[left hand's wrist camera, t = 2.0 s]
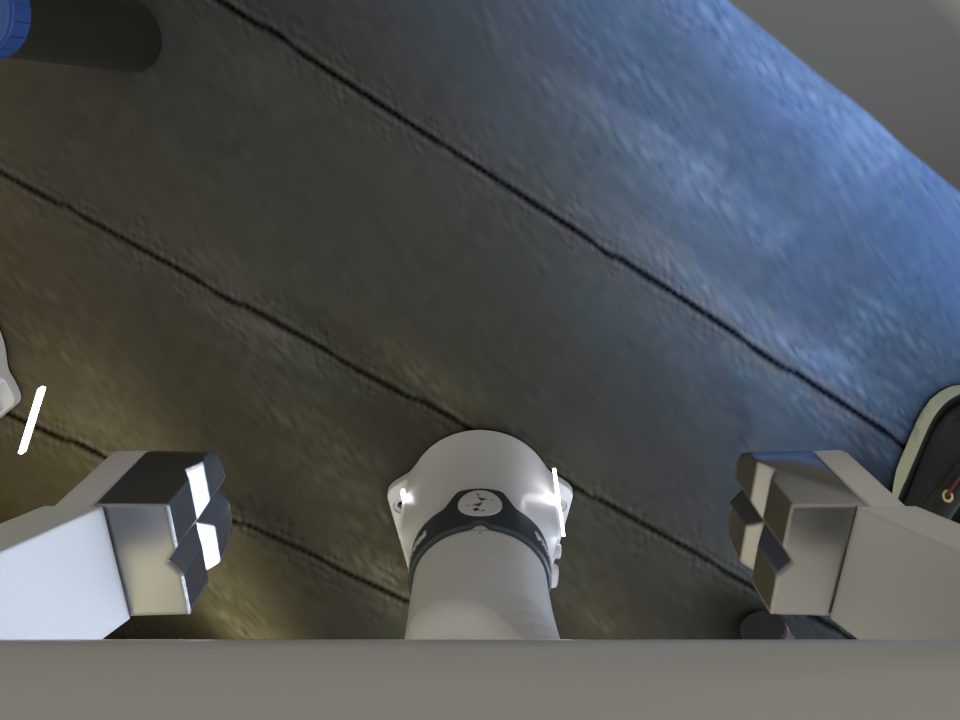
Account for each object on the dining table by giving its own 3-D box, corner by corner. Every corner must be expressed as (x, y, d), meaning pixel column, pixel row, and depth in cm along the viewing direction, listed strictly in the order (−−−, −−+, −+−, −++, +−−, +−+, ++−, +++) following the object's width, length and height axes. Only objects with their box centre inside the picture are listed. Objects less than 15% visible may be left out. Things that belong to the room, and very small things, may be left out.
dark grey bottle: (76, 16, 50) (-119, -30, 34) (133, -18, 50) (-39, -83, 33) (119, 84, 52) (-46, 71, 36) (175, 52, 51) (31, 23, 35)
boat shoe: (814, 636, 73) (869, 718, 64) (929, 375, 61) (1018, 428, 51) (919, 644, 74) (988, 725, 65) (1052, 390, 62) (1161, 443, 53)
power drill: (654, 685, 68) (709, 802, 75) (829, 628, 65) (870, 755, 72) (642, 646, 73) (695, 759, 80) (804, 592, 70) (844, 713, 77)
